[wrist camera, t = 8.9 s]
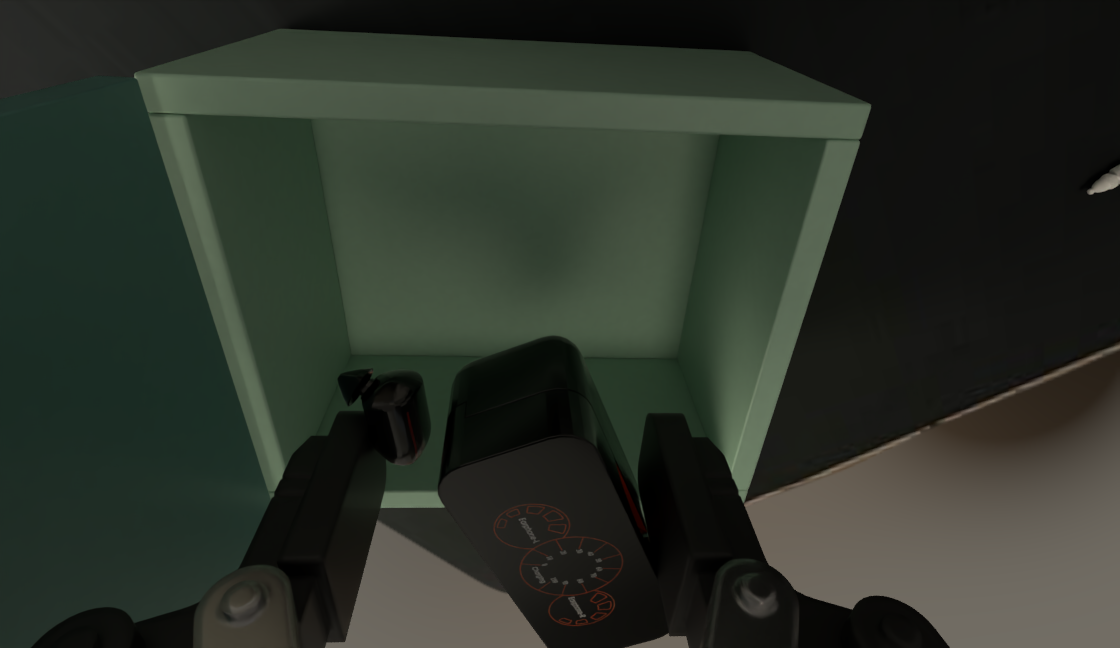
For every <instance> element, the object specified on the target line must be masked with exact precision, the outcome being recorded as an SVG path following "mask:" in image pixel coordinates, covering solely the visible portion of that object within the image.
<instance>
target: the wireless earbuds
mask: <svg viewBox="0 0 1120 648" xmlns="http://www.w3.org/2000/svg"><path fill="white" fill-rule="evenodd" d="M372 374H373V368H363V369H357V370H352V371H347V372H344V373H341V374H340V375H339V377H338V379H337V380H338V385H339V388H340V391H341V393H342V396H343V398H344V401H345V402H346V404H347V406H351V405H352V404H353V403H354V402H355V401H356V400H357V399H358V397H359V396H360V395H361V400H362V407H363V410H364V414H365V417H366V420H367V424H368V425H369V430H370V434H371V438H372V443H373V447H374V449H375V450H376V451H377V452H378V453H379V454H380V455H381V456H382V457H384V458H385V459H386V460H387V461H389V462H390V463H392V464H395V465H401V466H405V465H410V464H413V463H414V462H415V461H416V460H417V459H418V458H419V457H420V456H421V454H422V453H423V451H424V449H425V447H426V445H427V443H428V440H429V437H430V434H431V419H430V414H429V409H428V404H427V398H426V393H425V388H424V382H423V378H422V376H421V375H420V374H419V373H418V372H416V371H413V370H406V369H398V370H393V371H388V372H384V373H382V374H380V375H378V376H377V377H376V378H375V379H373V378H371V376H372ZM370 378H371V379H370ZM438 496H439V498H440V500H441V502H442V504H443V505H444V506H445V508H446V509H447V510H448V512H449V513H450V515H451V516H452V517H453V519H454V520H455V521H456V523H457V524H458V526H459V527H460V528H461V530H462V531H463V532H464V534H465V535H466V537H467V538H468V539H469V541H470V542H471V543H472V545H473V546H474V548H475V549H476V550H477V552H478V553H479V554H480V556H481V557H482V559H483V560H484V561H485V563H486V564H487V565H488V567H489V568H490V570H491V571H492V572H493V574H494V575H495V576H496V578H497V579H498V580H499V582H500V583H501V585H502V586H503V587H504V589H505V590H506V591H507V593H508V594H509V596H510V597H511V598H512V600H513V601H514V602H515V604H516V605H517V606H518V608H519V609H520V611H521V612H522V613H523V615H524V616H525V617H526V619H527V620H528V622H529V623H530V624H531V626H532V627H533V629H534V630H535V631H536V633H537V634H538V635H539V637H540V638H541V640H542V641H543V642H544V643H545V645H546V646H547V648H625V647H629V646H632V645H636V644H640V643H643V642H647V641H651V640H655V639H657V638H660V637H663V636H664V635H666V634H668V633H669V632H668V627H667V622H666V617H665V613H664V608H663V603H662V598H661V594H660V589H659V584H658V579H657V573H656V568H655V564H654V559H653V555H652V551H651V546H650V542H649V537H648V532H647V527H646V523H645V518H644V513H643V508H642V504H641V499H640V494H639V488H638V484H637V481H636V479H635V477H634V474H633V472H632V470H631V467H630V465H629V463H628V460H627V458H626V456H625V454H624V451H623V449H622V447H621V444H620V442H619V440H618V437H617V435H616V433H615V430H614V428H613V426H612V423H611V421H610V419H609V416H608V414H607V412H606V409H605V407H604V405H603V402H602V400H601V398H600V395H599V393H598V391H597V388H596V386H595V384H594V381H593V379H592V377H591V374H590V372H589V370H588V367H587V365H586V363H585V360H584V358H583V356H582V354H581V352H580V350H579V349H578V347H577V346H576V345H575V344H574V343H573V342H571V341H570V340H568V339H567V338H564V337H561V336H555V335H551V336H545V337H541V338H538V339H535V340H533V341H530V342H527V343H524V344H521V345H518V346H515V347H512V348H509V349H506V350H504V351H501V352H498V353H495V354H492V355H489V356H486V357H483V358H480V359H477V360H475V361H472V362H471V363H469V364H467V365H465V366H464V367H462V368H461V369H460V370H459V371H458V373H457V374H456V376H455V379H454V381H453V384H452V388H451V395H450V402H449V409H448V416H447V423H446V430H445V438H444V445H443V452H442V459H441V466H440V473H439V480H438Z"/></svg>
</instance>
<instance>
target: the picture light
mask: <svg viewBox="0 0 1120 648" xmlns="http://www.w3.org/2000/svg"><path fill="white" fill-rule="evenodd" d="M1118 184H1120V164H1119V165H1118V166H1116V167H1114V168H1112V169H1111V170H1110V171H1109V173H1107V174H1105V175H1102V176H1101V178H1100V179H1099V180H1097V181H1096V182H1095V183H1094V184H1093V185H1092V188H1091V189H1088V190H1087V193H1088V194H1093V193H1094V192H1098V193H1099V192H1103V191H1106V190H1108V189H1113V188H1115V187H1116V186H1118Z"/></svg>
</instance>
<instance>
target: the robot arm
mask: <svg viewBox="0 0 1120 648" xmlns="http://www.w3.org/2000/svg"><path fill="white" fill-rule="evenodd" d="M386 472H387V470H386V459H385V458H384V457H382V456H381V455H380V454H379V453H378V452H377V451H376V450H375V449H374V447H373V443H372V438H371V434H370V430H369V425H368V424H367V420H366V417H365V414H364V411H339V412H338V413H337V415H336V417H335V420H334V422H333V424H332V427H331V429H330V432H329V434H328V436H310V437H309V438H308V439H307V440H306V441H305V442H304V443H303V444H302V445H301V446H300V447H299V448H298V449H297V450H296V451H295V452H294V453H293V454H292V456H291V458H290V460H289V462H288V464H287V466H286V468H285V471H284V473H283V475H282V479H280V481H279V483H278V486H277V488H276V490H275V492H274V497H272V498H271V501H270V503H269V505H268V507H267V509H266V511H265V513H264V516H263V518H262V520H261V522H260V524H259V526H258V528H257V531H256V533H255V535H254V537H253V539H252V541H251V543H250V546H249V548H248V550H247V552H246V554H245V556H244V558H243V560H242V563H241V564H240V566H239V568H238V570H236V571H233V572H231V573H230V574H228V575H226V576H224V577H223V578H222V579H220V580H219V581H217V582H216V583H215V584H214V585H213V586H212V587H211V588H210V589H209V590H208V591H207V592H206V593H205V595H204V596H203V597H202V599H201V600H200V602H198V603H196V604H194V605H191V606H188V607H186V608H183V609H179V610H176V611H173V612H169V613H166V614H163V615H159V616H156V617H153V618H149V619H146V620H142V621H139V622H136V623H134V622H133V620H132V619H131V617H130V616H129V615H128V614H127V613H126V612H125V611H123V610H121V609H118V608H114V607H101V608H94V609H90V610H86V611H84V612H81V613H78V614H76V615H74V616H71V617H69V618H67V619H66V620H64V621H62V622H60V623H59V624H57V625H56V626H54V627H53V628H52V629H50V630H49V631H48V632H46V633H45V634H44V635H43V636H42V637H41V638H40V639H39V640H38V641H37V642H36V643H35V644H34V645H33V646H32V647H31V648H325V645H326V642H345V640H346V636H347V632H348V629H349V625H350V621H351V617H352V613H353V610H354V606H355V602H356V598H357V594H358V590H359V587H360V583H361V579H362V575H363V571H364V568H365V564H366V560H367V556H368V552H369V548H370V545H371V541H372V537H373V533H374V529H375V526H376V522H377V518H378V514H379V511H380V507H381V503H382V499H383V495H384V491H385V485H386ZM638 488H639V494H640V499H641V504H642V508H643V513H644V518H645V523H646V527H647V532H648V537H649V542H650V546H651V551H652V555H653V559H654V564H655V568H656V573H657V579H658V584H659V589H660V594H661V598H662V603H663V608H664V613H665V617H666V622H667V627H668V632H669V636H686V637H687V640H688V645H689V648H950V647H949V646H948V645H947V643H946V642H945V641H944V640H943V638H942V637H941V636H940V635H939V633H938V632H937V631H936V629H935V628H934V627H933V626H932V625H931V623H930V622H929V621H928V620H927V619H926V618H925V617H923V615H921V614H920V613H919V612H917V611H916V610H915V609H913V608H912V607H910V606H908V605H907V604H905V603H902V602H901V601H898V600H895V599H893V598H889V597H884V596H869V597H866V598H863V599H862V600H860V601H859V602H858V603H857V604H856V605H855V607H854V608H853V610H852V609H848V608H844V607H841V606H837V605H834V604H831V603H827V602H824V601H820V600H817V599H813V598H810V597H808V596H805V595H803V594H801V593H799V592H797V591H796V590H794V589H793V587H792V586H791V584H790V583H789V582H788V580H787V579H786V578H785V577H784V576H783V575H782V574H781V573H780V572H778V571H777V570H776V569H774V568H773V567H771V566H769V565H768V563H767V561H766V559H765V556H764V554H763V551H762V549H761V547H760V544H759V541H758V539H757V536H756V534H755V531H754V529H753V526H752V524H751V521H750V519H749V516H748V514H747V511H746V509H745V506H744V503H743V501H742V498H741V496H739V491H738V488H737V486H736V483H735V481H734V479H732V473H731V471H730V468H729V466H728V463H727V461H726V458H725V456H724V454H723V453H722V452H721V451H720V450H719V449H718V448H717V447H716V446H715V445H714V443H713V442H712V441H711V440H710V439H709V438H708V437H692V435H691V433H690V430H689V427H688V424H687V421H686V418H685V416H684V414H683V413H648V414H647V416H646V420H645V426H644V432H643V438H642V444H641V449H640V455H639V461H638Z"/></svg>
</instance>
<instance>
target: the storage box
mask: <svg viewBox="0 0 1120 648" xmlns="http://www.w3.org/2000/svg"><path fill="white" fill-rule="evenodd" d="M134 77H135V78H136V79H137V80H138V83H139V86H140V89H141V92H142V95H143V99H144V102H145V105H146V108H147V111H148V112H150V113H149V118H150V121H151V124H152V127H153V130H154V133H155V136H156V140H157V143H158V146H159V149H160V152H161V155H162V158H163V162H164V165H165V168H166V171H167V174H168V177H169V180H170V184H171V187H172V190H173V193H174V196H175V199H176V202H177V206H178V209H179V212H180V215H181V218H182V221H183V225H184V228H185V231H186V234H187V237H188V240H189V243H190V247H191V250H192V253H193V256H194V259H195V262H196V265H197V269H198V272H199V275H200V278H201V281H202V284H203V287H204V291H205V294H206V297H207V300H208V303H209V306H210V309H211V313H212V316H213V319H214V322H215V325H216V328H217V332H218V335H219V338H220V341H221V344H222V347H223V350H224V354H225V357H226V360H227V363H228V366H229V369H230V372H231V376H232V379H233V382H234V385H235V388H236V391H237V394H238V398H239V401H240V404H241V407H242V410H243V413H244V416H245V420H246V423H247V426H248V429H249V432H250V435H251V439H252V442H253V445H254V448H255V451H256V454H257V457H258V461H259V464H260V467H261V470H262V473H263V476H264V479H265V483H266V486H267V489H268V492H269V495H270V498H272V497H274V492H275V490H276V488H277V486H278V483H279V481H280V479H282V475H283V473H284V471H285V468H286V466H287V464H288V462H289V460H290V458H291V456H292V454H293V453H294V452H295V451H296V450H297V449H298V448H299V447H300V446H301V445H302V444H303V443H304V442H305V441H306V440H307V439H308V438H309V437H310V436H328V434H329V432H330V429H331V427H332V424H333V422H334V420H335V417H336V415H337V413H338V412H339V411H364V410H363V407H362V400H361V395H360V396H359V397H358V399H357V400H356V401H355V402H354V403H353V404H352V405H351V406H347V404H346V402H345V401H344V398H343V396H342V393H341V391H340V388H339V385H338V380H337V379H338V377H339V375H340V374H341V373H344V372H347V371H352V370H357V369H363V368H373V374H372V376H371V378H373V379H375V378H376V377H377V376H378V375H380V374H382V373H384V372H388V371H393V370H398V369H406V370H413V371H416V372H418V373H419V374H420V375H421V376H422V378H423V382H424V388H425V393H426V398H427V404H428V409H429V414H430V419H431V434H430V437H429V440H428V443H427V445H426V447H425V449H424V451H423V453H422V454H421V456H420V457H419V458H418V459H417V460H416V461H415V462H414V463H413V464H410V465H405V466H401V465H395V464H392V463H390V462H389V461H387V460H386V470H387V472H386V485H385V491H384V495H383V499H382V503H381V507H380V508H413V507H445V506H444V505H443V504H442V502H441V500H440V498H439V496H438V480H439V473H440V466H441V459H442V452H443V445H444V438H445V430H446V423H447V416H448V409H449V402H450V395H451V388H452V384H453V381H454V379H455V376H456V374H457V373H458V371H459V370H460V369H461V368H462V367H464V366H465V365H467V364H469V363H471V362H472V361H475V360H477V359H480V358H483V357H486V356H489V355H492V354H495V353H498V352H501V351H504V350H506V349H509V348H512V347H515V346H518V345H521V344H524V343H527V342H530V341H533V340H535V339H538V338H541V337H545V336H551V335H555V336H561V337H564V338H567V339H568V340H570V341H571V342H573V343H574V344H575V345H576V346H577V347H578V349H579V350H580V352H581V354H582V356H583V358H584V360H585V363H586V365H587V367H588V370H589V372H590V374H591V377H592V379H593V381H594V384H595V386H596V388H597V391H598V393H599V395H600V398H601V400H602V402H603V405H604V407H605V409H606V412H607V414H608V416H609V419H610V421H611V423H612V426H613V428H614V430H615V433H616V435H617V437H618V440H619V442H620V444H621V447H622V449H623V451H624V454H625V456H626V458H627V460H628V463H629V465H630V467H631V470H632V472H633V474H634V477H635V479H636V481H637V484H638V461H639V455H640V449H641V444H642V438H643V432H644V426H645V420H646V416H647V414H648V413H683V414H684V416H685V418H686V421H687V424H688V427H689V430H690V433H691V435H692V437H708V438H709V439H710V440H711V441H712V442H713V443H714V445H715V446H716V447H717V448H718V449H719V450H720V451H721V452H722V453H723V454H724V456H725V458H726V461H727V463H728V466H729V468H730V471H731V473H732V479H734V481H735V483H736V486H737V488H738V491H739V496H741V498H742V501H743V503H744V501H745V498H746V495H747V492H748V490H747V489H749V486H750V483H751V480H752V477H753V474H754V471H755V468H756V464H757V461H758V458H759V455H760V452H761V449H762V446H763V443H764V440H765V437H766V433H767V430H768V427H769V424H770V421H771V418H772V415H773V412H774V409H775V405H776V402H777V399H778V396H779V393H780V390H781V387H782V384H783V381H784V377H785V374H786V371H787V368H788V365H789V362H790V359H791V356H792V353H793V350H794V346H795V343H796V340H797V337H798V334H799V331H800V328H801V325H802V322H803V318H804V315H805V312H806V309H807V306H808V303H809V300H810V297H811V294H812V291H813V287H814V284H815V281H816V278H817V275H818V272H819V269H820V266H821V263H822V259H823V256H824V253H825V250H826V247H827V244H828V241H829V238H830V235H831V231H832V228H833V225H834V222H835V219H836V216H837V213H838V210H839V207H840V204H841V200H842V197H843V194H844V191H845V188H846V185H847V182H848V179H849V176H850V172H851V169H852V166H853V163H854V160H855V157H856V154H857V151H858V148H859V144H860V141H859V140H858V139H860V138H861V137H862V134H863V131H864V128H865V125H866V122H867V119H868V115H869V112H870V109H871V104H869V103H867V102H864V101H862V100H860V99H858V98H855V97H853V96H851V95H848V94H846V93H844V92H841V91H839V90H837V89H835V88H832V87H830V86H828V85H825V84H823V83H821V82H818V81H816V80H814V79H811V78H809V77H807V76H805V75H802V74H800V73H798V72H795V71H793V70H791V69H788V68H786V67H784V66H782V65H779V64H777V63H775V62H772V61H770V60H768V59H765V58H763V57H761V56H758V55H757V54H754V53H752V52H750V51H730V50H709V49H689V48H668V47H647V46H627V45H606V44H585V43H564V42H544V41H523V40H502V39H482V38H461V37H440V36H420V35H399V34H378V33H358V32H337V31H316V30H296V29H278V30H274V31H272V32H269V33H265V34H262V35H259V36H255V37H252V38H249V39H245V40H242V41H239V42H235V43H232V44H229V45H225V46H222V47H219V48H215V49H212V50H209V51H205V52H202V53H199V54H195V55H192V56H189V57H185V58H182V59H179V60H176V61H172V62H169V63H166V64H162V65H159V66H156V67H152V68H149V69H146V70H142V71H139V72H136V73H135V74H134ZM371 378H370V379H371Z"/></svg>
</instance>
